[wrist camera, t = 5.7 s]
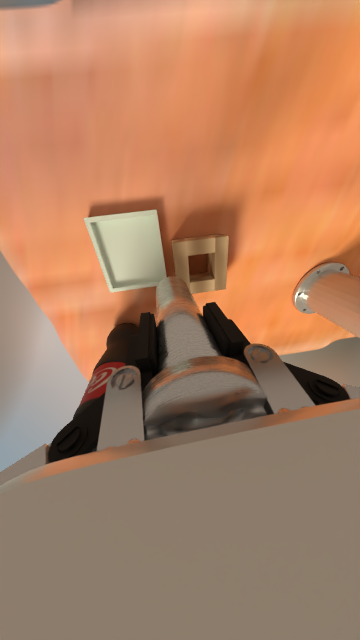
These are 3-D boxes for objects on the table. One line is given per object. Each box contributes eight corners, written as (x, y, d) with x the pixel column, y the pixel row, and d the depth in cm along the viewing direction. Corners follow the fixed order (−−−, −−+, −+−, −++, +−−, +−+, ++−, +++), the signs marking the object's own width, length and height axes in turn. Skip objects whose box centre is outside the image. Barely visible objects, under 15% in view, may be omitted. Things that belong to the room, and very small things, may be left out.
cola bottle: (105, 322, 37) (-13, 549, 11) (142, 317, 37) (107, 524, 12) (117, 349, 41) (51, 554, 16) (149, 344, 41) (136, 536, 16)
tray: (156, 210, 27) (156, 209, 25) (167, 281, 33) (167, 284, 32) (87, 218, 26) (83, 217, 25) (112, 289, 33) (110, 292, 31)
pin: (194, 265, 14) (291, 374, 4) (196, 309, 17) (260, 444, 7) (143, 272, 14) (118, 408, 4) (153, 316, 17) (152, 468, 6)
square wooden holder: (218, 233, 30) (228, 235, 25) (217, 280, 34) (225, 289, 30) (171, 239, 29) (173, 243, 25) (176, 286, 34) (179, 295, 30)
